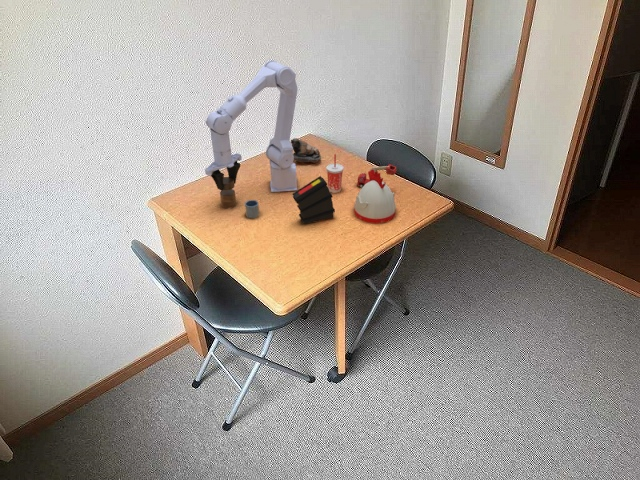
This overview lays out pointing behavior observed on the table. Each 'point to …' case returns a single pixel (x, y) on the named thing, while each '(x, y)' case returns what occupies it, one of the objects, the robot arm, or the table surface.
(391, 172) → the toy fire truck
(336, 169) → the beverage cup
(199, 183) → the table surface
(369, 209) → the kitchen timer
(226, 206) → the oak chip bottom
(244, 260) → the table surface
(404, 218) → the table surface
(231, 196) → the disc
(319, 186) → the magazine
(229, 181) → the walnut chip
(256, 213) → the plastic cup
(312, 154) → the bison figurine
